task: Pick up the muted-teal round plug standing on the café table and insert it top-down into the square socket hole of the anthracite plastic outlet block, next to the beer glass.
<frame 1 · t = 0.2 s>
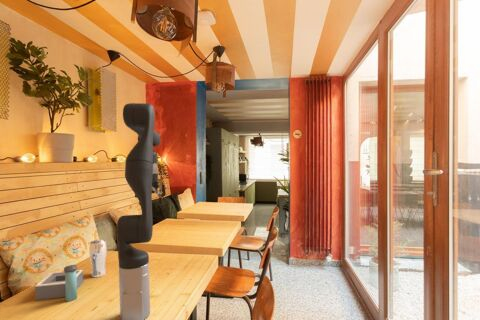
hand: (150, 205, 132), 29 cm above the table, fingers open, 8 cm apart
plug: (71, 298, 101), on the table
socket block: (60, 290, 107), on the table
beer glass: (98, 274, 122), on the table
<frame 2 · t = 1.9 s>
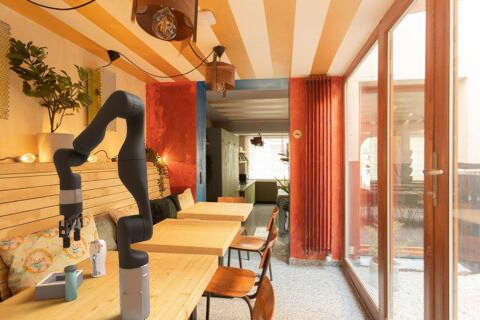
hand: (72, 244, 101), 20 cm above the table, fingers open, 8 cm apart
nothing on the table moved.
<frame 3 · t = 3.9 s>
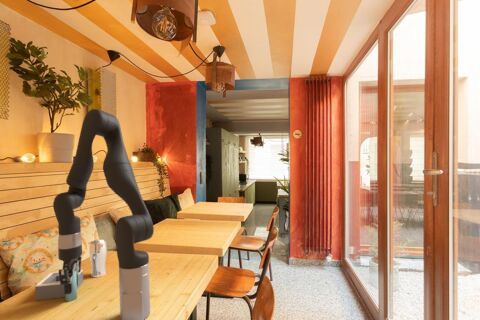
hand: (71, 289, 101), 3 cm above the table, fingers open, 5 cm apart
nothing on the table moved.
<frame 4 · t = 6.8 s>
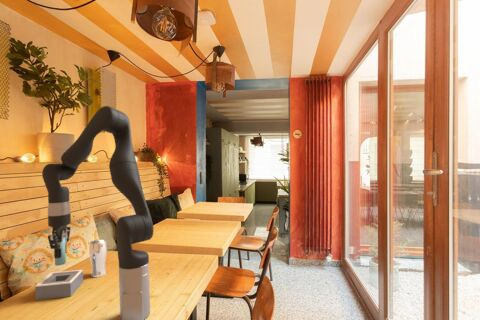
hand: (60, 255, 107), 14 cm above the table, fingers closed on plug, 3 cm apart
plug: (60, 263, 107), point 11 cm above the table, touching gripper
everything else where it was.
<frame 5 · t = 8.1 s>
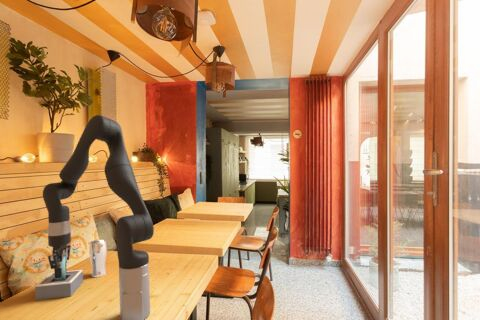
hand: (60, 275, 107), 6 cm above the table, fingers closed on plug, 3 cm apart
plug: (60, 283, 107), point 3 cm above the table, touching gripper
everything else where it was.
when the fingers open (6 cm above the table, at t = 9.2 s): plug drops 3 cm, resting in socket block.
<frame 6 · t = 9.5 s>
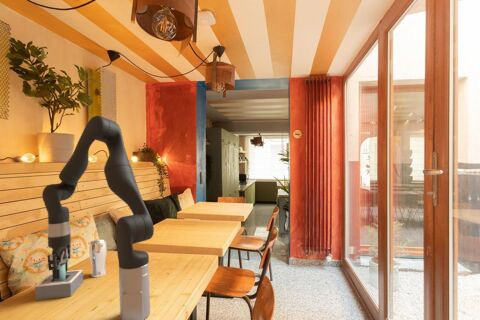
hand: (60, 275, 107), 6 cm above the table, fingers open, 6 cm apart
plug: (60, 290, 107), resting in socket block
everything else where it was.
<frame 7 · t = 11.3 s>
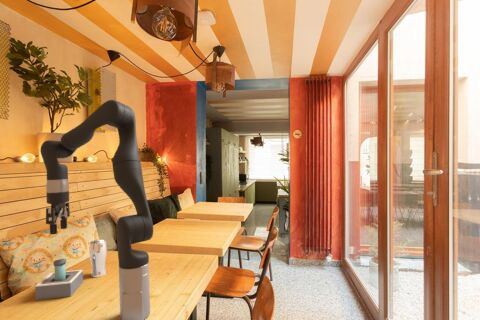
hand: (59, 231, 107), 24 cm above the table, fingers open, 8 cm apart
nothing on the table moved.
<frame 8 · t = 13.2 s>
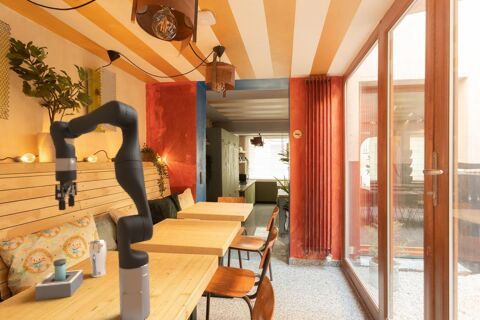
hand: (67, 208, 112), 32 cm above the table, fingers open, 8 cm apart
nothing on the table moved.
at the end: plug 0.1 cm off-centre on the socket block, point 0.0 cm above the socket block's base; plug tilted 0°; the gripper is holding nothing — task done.
